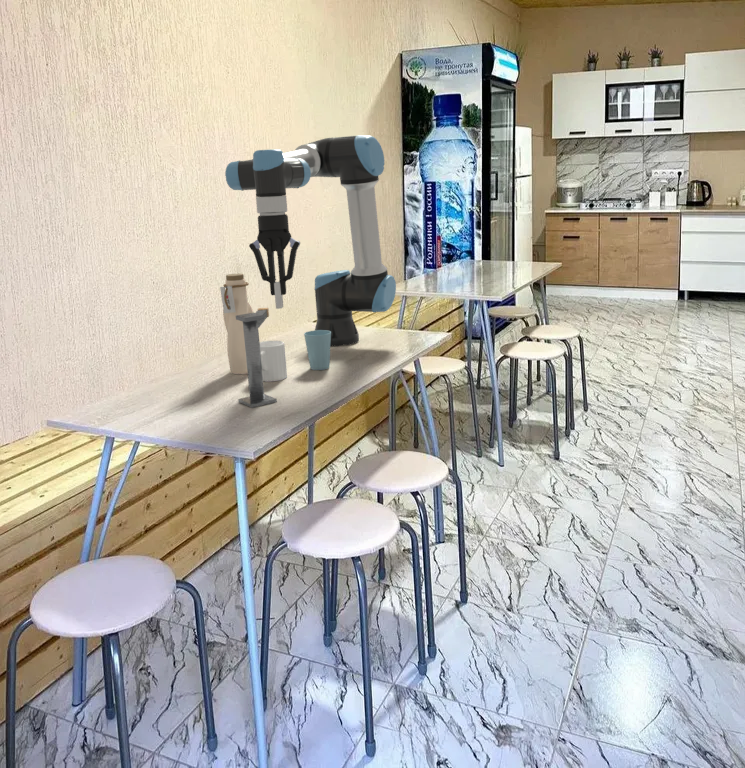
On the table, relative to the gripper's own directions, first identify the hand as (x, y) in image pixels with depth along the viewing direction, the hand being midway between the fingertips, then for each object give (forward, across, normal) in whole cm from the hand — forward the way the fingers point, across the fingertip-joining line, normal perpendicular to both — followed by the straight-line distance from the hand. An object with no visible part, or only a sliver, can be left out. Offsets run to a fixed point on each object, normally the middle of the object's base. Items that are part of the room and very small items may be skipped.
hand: (279, 307), depth 202 cm
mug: (+22, +6, -10) cm, 24 cm away
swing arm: (+4, +6, 0) cm, 7 cm away
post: (+22, +5, +12) cm, 25 cm away
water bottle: (+22, +16, -20) cm, 33 cm away
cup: (+22, -7, -21) cm, 31 cm away
